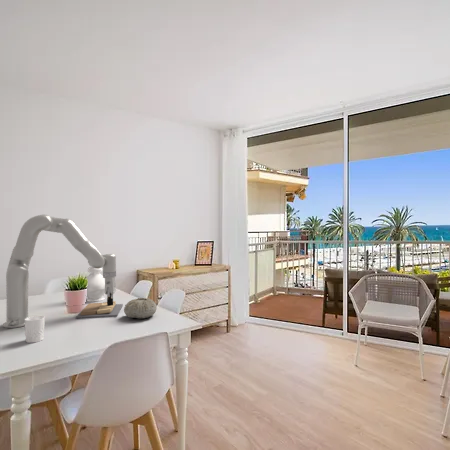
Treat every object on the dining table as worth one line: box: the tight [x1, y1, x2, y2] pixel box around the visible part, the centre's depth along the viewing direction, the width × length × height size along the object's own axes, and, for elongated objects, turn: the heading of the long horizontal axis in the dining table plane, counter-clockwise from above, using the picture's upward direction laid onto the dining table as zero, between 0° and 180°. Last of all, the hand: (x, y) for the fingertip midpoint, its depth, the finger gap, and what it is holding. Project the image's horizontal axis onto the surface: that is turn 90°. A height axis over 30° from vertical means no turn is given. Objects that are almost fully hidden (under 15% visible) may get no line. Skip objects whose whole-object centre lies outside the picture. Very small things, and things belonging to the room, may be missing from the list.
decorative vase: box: [86, 266, 106, 303], centre depth 223 cm, size 18×18×25 cm
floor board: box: [75, 302, 123, 320], centre depth 191 cm, size 26×22×3 cm
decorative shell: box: [123, 297, 157, 319], centre depth 180 cm, size 18×18×10 cm
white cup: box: [24, 315, 46, 344], centre depth 143 cm, size 8×8×10 cm
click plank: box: [97, 300, 117, 314], centre depth 192 cm, size 20×8×2 cm, turn 11°
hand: (110, 305), depth 192 cm, fingers closed
